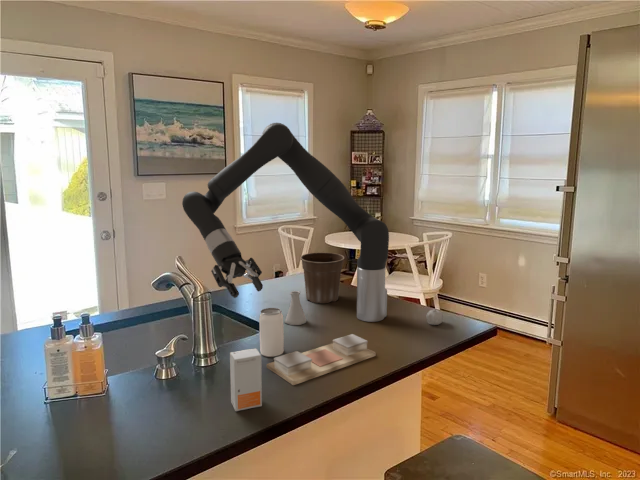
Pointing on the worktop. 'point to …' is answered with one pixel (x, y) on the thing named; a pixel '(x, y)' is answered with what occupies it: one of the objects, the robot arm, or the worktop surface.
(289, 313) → the flask
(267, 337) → the can
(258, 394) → the skincare box
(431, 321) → the garlic
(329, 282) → the plant pot
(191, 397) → the worktop surface
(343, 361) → the tray with two blocks
